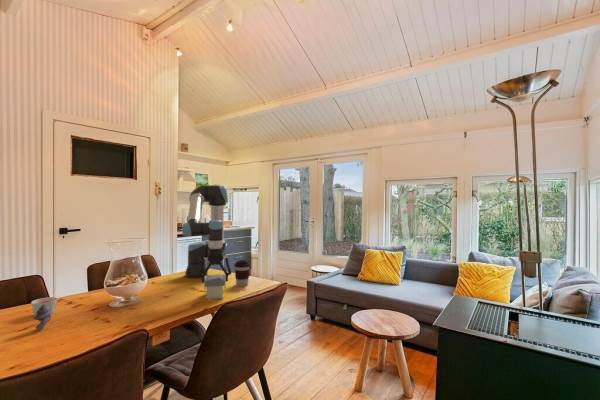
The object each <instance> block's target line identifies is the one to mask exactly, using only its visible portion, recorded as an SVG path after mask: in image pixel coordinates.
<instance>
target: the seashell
mask: <svg viewBox="0 0 600 400" xmlns="http://www.w3.org/2000/svg"><path fill="white" fill-rule="evenodd" d="M51 313H52V312H51V310H50V309H49V306H48V305H45V304H43V305H42V306H41V307H40V308H39V310H38V311H37V312H36V314H37V315H36V316H34V320H36V321H40V322H39V323H38V324H37V325H36V326H35V329H36V330H38V331H43V329H44V328H45V327H46V325H47V323H49V321H50V320H51V319H52V314H53V313H52V314H51Z"/></svg>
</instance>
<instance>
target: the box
mask: <svg viewBox="0 0 600 400" xmlns="http://www.w3.org/2000/svg"><path fill="white" fill-rule="evenodd" d="M220 299H222V300H223V299H224V286H211V287H206V301H207V300H220Z"/></svg>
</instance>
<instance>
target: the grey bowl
mask: <svg viewBox="0 0 600 400" xmlns="http://www.w3.org/2000/svg"><path fill="white" fill-rule="evenodd" d="M57 301H58V298H57V296H56V297H54V296H50V297H42V298H37V299H35V300H34V299H33V300H32V301H31V308H32V311H33V316H34V317H35V316H36V315H37V314H36V312H37V311H38V310H39V308H40V307H41V306H42V305H43V304H45V305H48V306H49V309H50V310H51V312H52V313H51V314H50V315H52V314H54V313H55V309H56V305H57Z"/></svg>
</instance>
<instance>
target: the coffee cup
mask: <svg viewBox="0 0 600 400" xmlns="http://www.w3.org/2000/svg"><path fill="white" fill-rule="evenodd" d="M233 265H234V268H235V269H234V274H235V275H234V277H235V285H236V286H237V287H246V286H248V285H249V278H250V267H251V262H249V261H248V260H247V259H246V260H245V259H241V260H240V259H239V260H237V261H236V262H234V264H233Z"/></svg>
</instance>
